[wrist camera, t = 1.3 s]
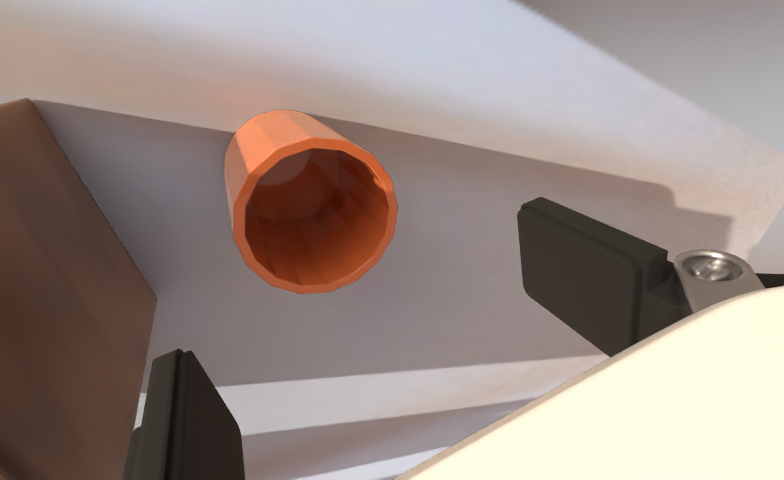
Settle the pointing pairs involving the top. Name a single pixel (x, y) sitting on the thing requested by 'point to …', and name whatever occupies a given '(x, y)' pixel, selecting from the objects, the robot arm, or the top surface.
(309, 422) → the top surface
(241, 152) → the tumbler
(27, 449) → the brown wooden organizer box
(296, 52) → the top surface
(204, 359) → the top surface
